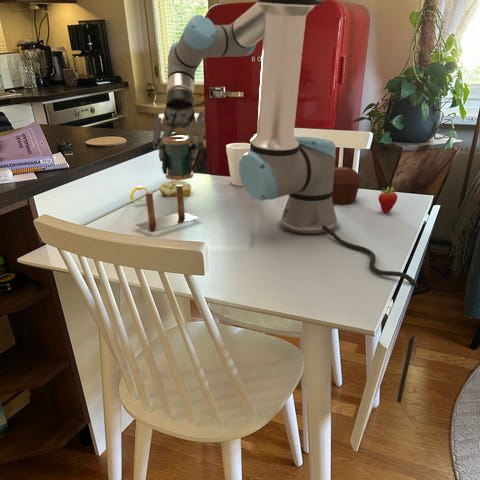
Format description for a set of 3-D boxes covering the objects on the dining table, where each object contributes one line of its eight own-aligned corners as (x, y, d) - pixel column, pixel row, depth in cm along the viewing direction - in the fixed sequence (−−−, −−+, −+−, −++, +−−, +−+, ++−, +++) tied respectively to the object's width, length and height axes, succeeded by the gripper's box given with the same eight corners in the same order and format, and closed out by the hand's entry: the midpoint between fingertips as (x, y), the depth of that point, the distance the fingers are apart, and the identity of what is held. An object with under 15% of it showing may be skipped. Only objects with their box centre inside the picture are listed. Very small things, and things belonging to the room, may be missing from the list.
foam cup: (255, 180, 175) (255, 143, 169) (250, 187, 168) (250, 148, 161) (230, 179, 177) (229, 142, 171) (224, 186, 170) (223, 147, 163)
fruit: (384, 209, 145) (388, 182, 140) (398, 213, 141) (403, 186, 137) (373, 212, 142) (376, 185, 138) (386, 217, 138) (390, 189, 134)
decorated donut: (167, 201, 155) (166, 189, 153) (155, 193, 163) (154, 182, 161) (196, 195, 160) (195, 184, 158) (183, 188, 168) (182, 177, 166)
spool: (194, 173, 134) (191, 135, 129) (191, 179, 127) (188, 140, 122) (168, 173, 134) (165, 135, 129) (164, 180, 128) (160, 140, 123)
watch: (133, 207, 150) (131, 188, 146) (130, 205, 152) (128, 186, 149) (151, 204, 152) (149, 186, 149) (148, 202, 154) (146, 184, 151)
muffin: (365, 199, 153) (369, 167, 148) (348, 208, 146) (351, 174, 141) (334, 193, 160) (336, 162, 155) (315, 200, 153) (317, 169, 148)
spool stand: (181, 216, 142) (179, 180, 136) (199, 222, 137) (196, 186, 131) (135, 230, 132) (130, 192, 127) (152, 237, 127) (147, 198, 122)
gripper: (215, 105, 135) (214, 178, 130) (149, 106, 136) (144, 179, 130) (213, 86, 128) (211, 162, 122) (143, 87, 129) (138, 163, 123)
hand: (177, 170), depth 126 cm, fingers closed on spool, 6 cm apart
